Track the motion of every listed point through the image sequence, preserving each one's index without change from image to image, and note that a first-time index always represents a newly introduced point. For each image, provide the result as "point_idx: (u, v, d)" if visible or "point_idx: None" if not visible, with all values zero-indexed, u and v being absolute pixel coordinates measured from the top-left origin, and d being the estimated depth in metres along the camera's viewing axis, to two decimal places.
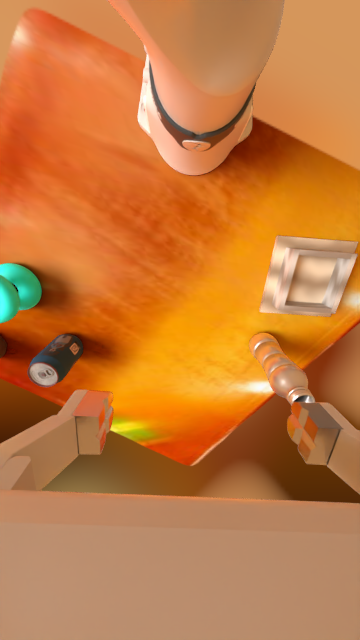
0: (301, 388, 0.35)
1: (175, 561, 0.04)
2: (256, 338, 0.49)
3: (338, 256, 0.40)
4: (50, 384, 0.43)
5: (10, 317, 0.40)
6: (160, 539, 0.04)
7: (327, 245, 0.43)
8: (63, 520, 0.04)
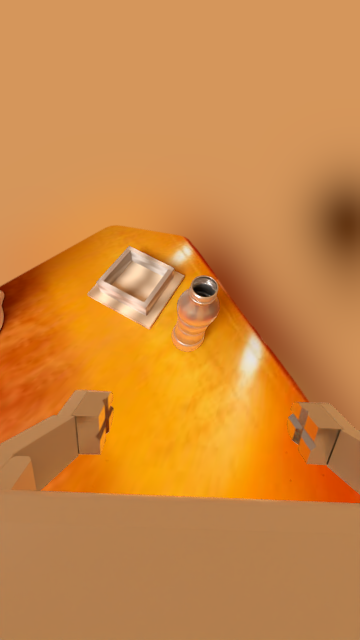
0: None
1: (175, 561, 0.04)
2: (172, 338, 0.43)
3: (123, 256, 0.49)
4: None
5: None
6: (160, 539, 0.04)
7: None
8: (63, 521, 0.04)
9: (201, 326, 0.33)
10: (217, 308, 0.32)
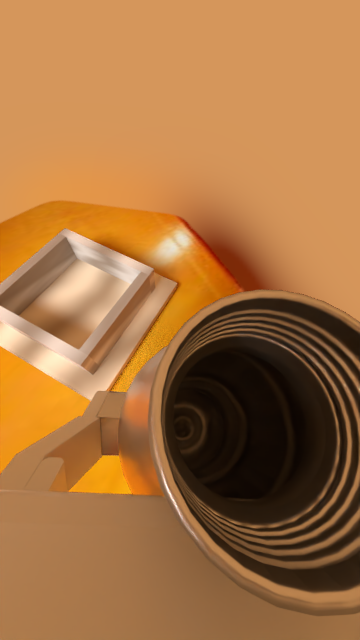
0: None
1: (175, 561, 0.04)
2: None
3: (48, 249, 0.24)
4: None
5: None
6: (160, 539, 0.04)
7: None
8: (62, 521, 0.04)
9: None
10: None
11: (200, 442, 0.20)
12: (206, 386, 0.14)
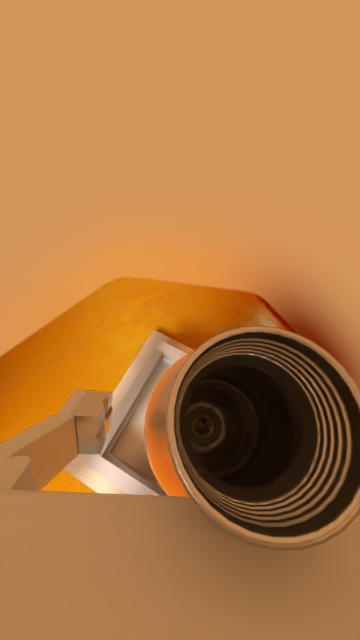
0: None
1: (175, 561, 0.04)
2: None
3: (147, 372, 0.21)
4: None
5: None
6: (160, 539, 0.04)
7: (134, 376, 0.24)
8: (63, 520, 0.04)
9: None
10: None
11: (220, 439, 0.21)
12: (221, 388, 0.15)
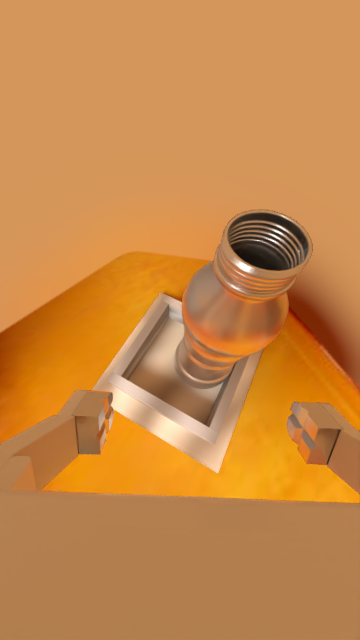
0: None
1: (175, 561, 0.04)
2: (175, 366, 0.23)
3: (156, 318, 0.25)
4: None
5: None
6: (160, 539, 0.04)
7: None
8: (63, 520, 0.04)
9: (243, 355, 0.13)
10: (287, 309, 0.12)
11: None
12: None
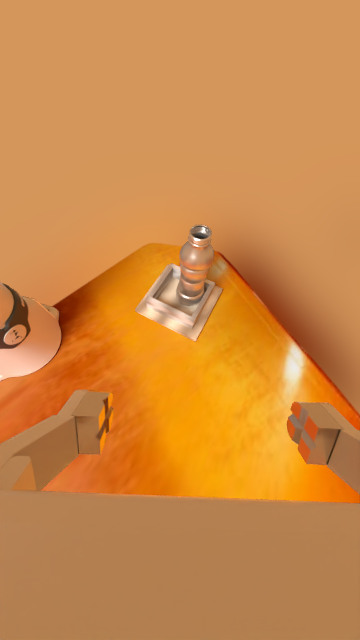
0: None
1: (175, 561, 0.04)
2: (176, 294, 0.50)
3: (167, 273, 0.52)
4: None
5: None
6: (160, 539, 0.04)
7: None
8: (63, 520, 0.04)
9: (199, 270, 0.40)
10: (212, 254, 0.39)
11: None
12: None
